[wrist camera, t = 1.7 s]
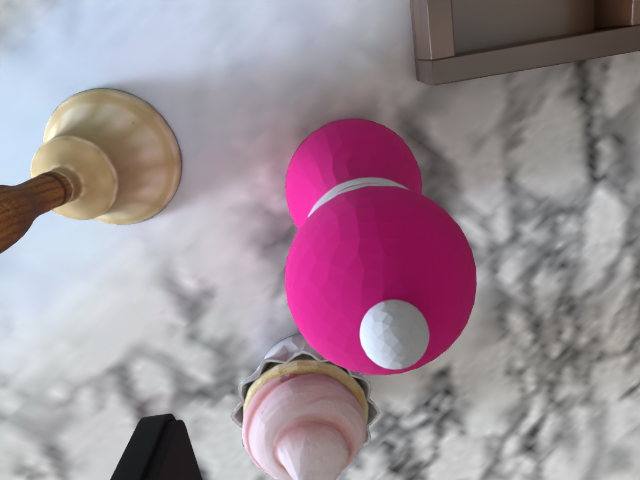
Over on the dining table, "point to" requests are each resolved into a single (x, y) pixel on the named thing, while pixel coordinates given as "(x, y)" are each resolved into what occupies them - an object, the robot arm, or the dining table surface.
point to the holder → (516, 35)
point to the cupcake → (303, 413)
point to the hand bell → (96, 165)
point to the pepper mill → (372, 253)
